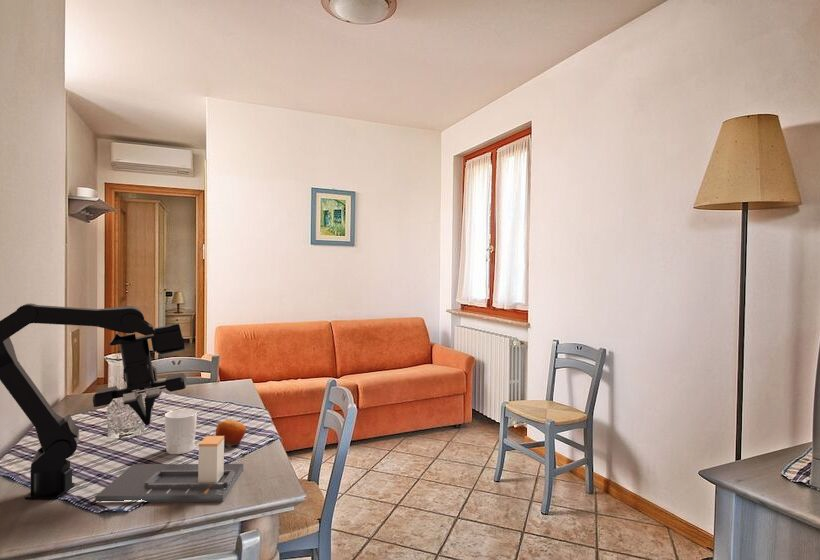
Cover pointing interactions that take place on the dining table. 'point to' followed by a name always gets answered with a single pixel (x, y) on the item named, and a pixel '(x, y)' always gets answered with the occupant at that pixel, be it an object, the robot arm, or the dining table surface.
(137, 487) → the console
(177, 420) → the white cup
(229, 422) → the fruit
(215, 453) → the fader cap
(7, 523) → the dining table surface
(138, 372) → the robot arm
